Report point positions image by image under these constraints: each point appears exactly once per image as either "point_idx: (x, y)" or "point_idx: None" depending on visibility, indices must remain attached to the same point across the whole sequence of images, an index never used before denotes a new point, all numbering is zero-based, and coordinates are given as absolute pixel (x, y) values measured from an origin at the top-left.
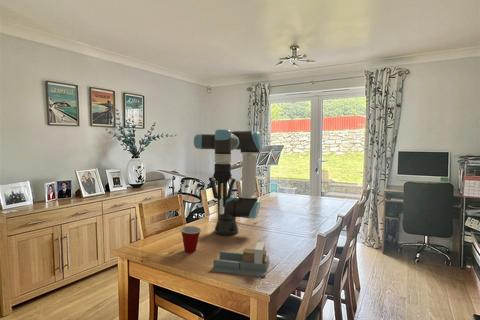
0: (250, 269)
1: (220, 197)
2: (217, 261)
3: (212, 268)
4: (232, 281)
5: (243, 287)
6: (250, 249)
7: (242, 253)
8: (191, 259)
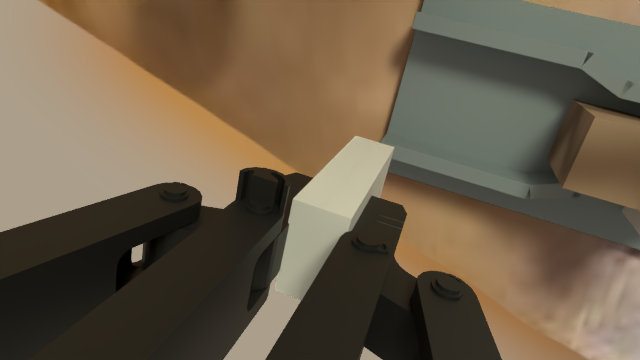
0: None
1: (264, 264)
2: (400, 159)
3: None
4: (474, 265)
5: (518, 316)
6: (634, 146)
7: (573, 54)
8: (265, 22)
